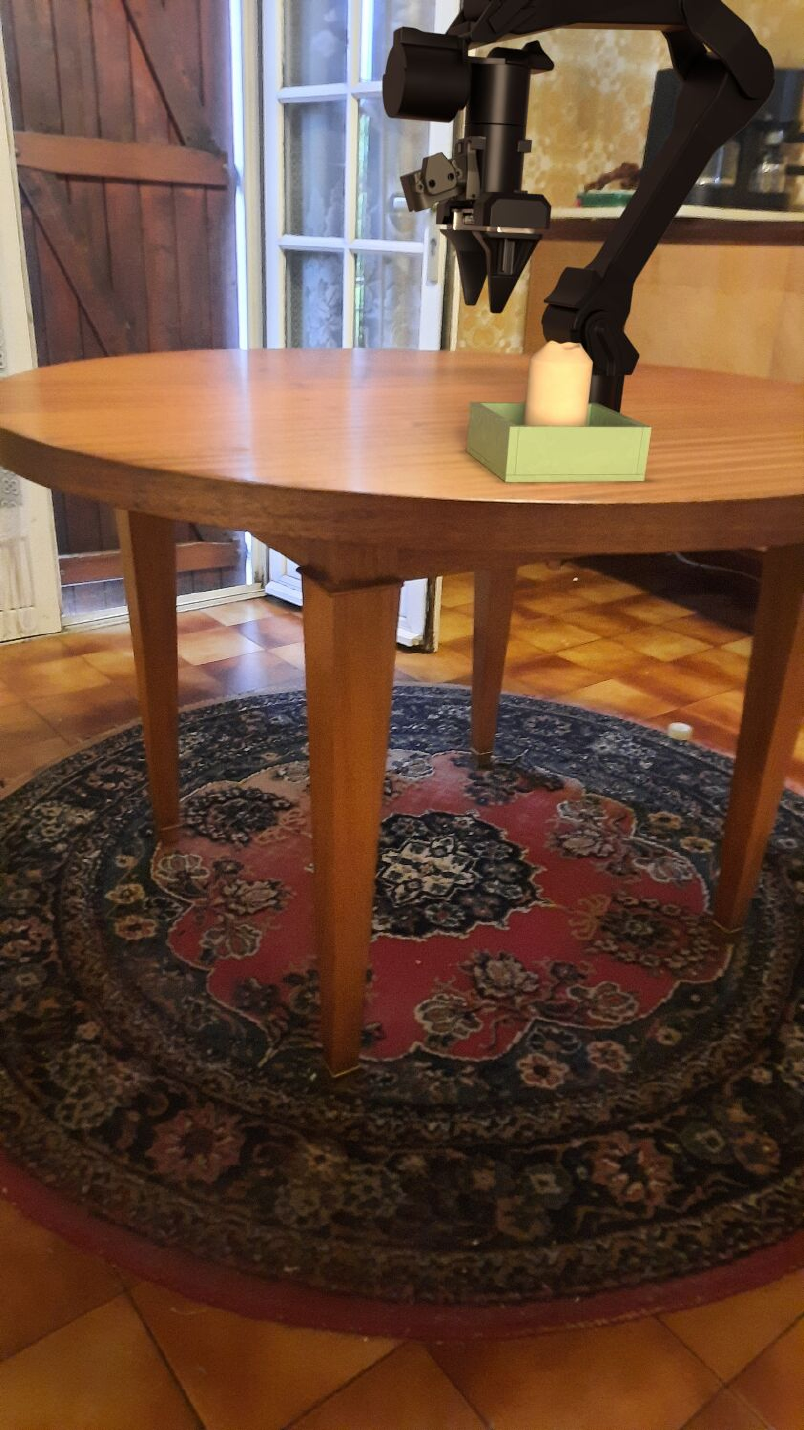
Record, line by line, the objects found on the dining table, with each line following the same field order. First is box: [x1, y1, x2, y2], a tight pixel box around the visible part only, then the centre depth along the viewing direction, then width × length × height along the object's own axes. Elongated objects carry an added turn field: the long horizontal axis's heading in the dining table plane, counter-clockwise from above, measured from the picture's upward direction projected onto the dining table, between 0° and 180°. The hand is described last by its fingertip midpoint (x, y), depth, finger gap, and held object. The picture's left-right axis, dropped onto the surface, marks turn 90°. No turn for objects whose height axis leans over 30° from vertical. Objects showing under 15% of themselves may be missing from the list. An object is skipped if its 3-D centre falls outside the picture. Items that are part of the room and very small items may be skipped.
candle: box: [524, 341, 593, 425], centre depth 90 cm, size 6×6×10 cm
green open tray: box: [466, 401, 653, 483], centre depth 92 cm, size 13×13×5 cm
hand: (482, 309), depth 100 cm, fingers open, 9 cm apart
